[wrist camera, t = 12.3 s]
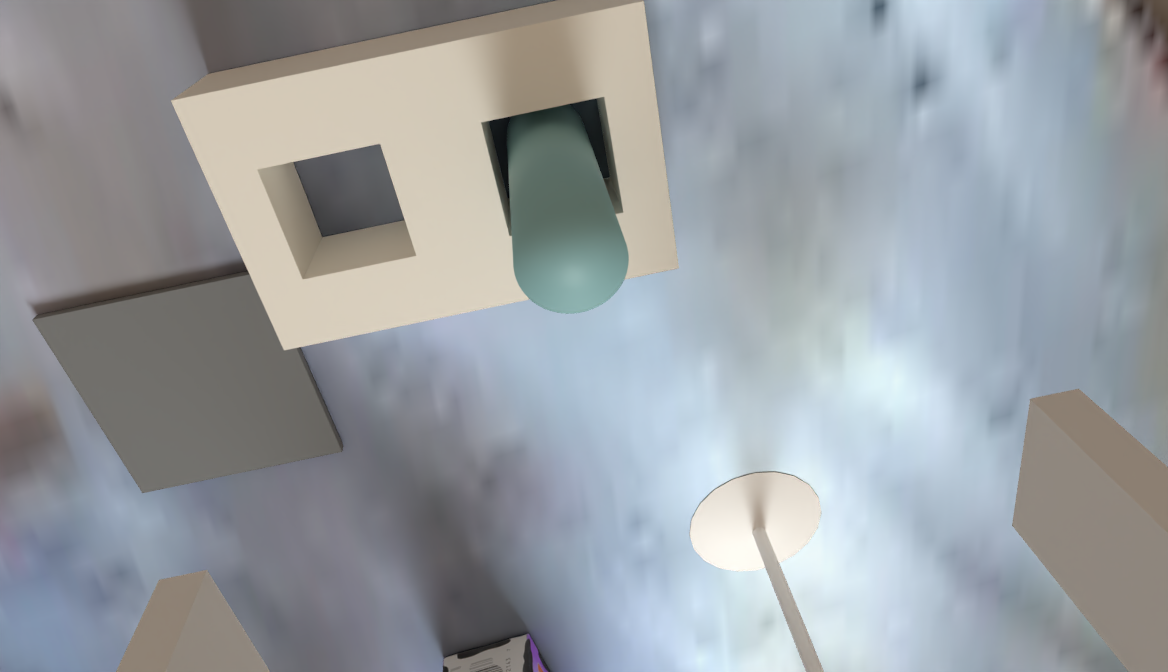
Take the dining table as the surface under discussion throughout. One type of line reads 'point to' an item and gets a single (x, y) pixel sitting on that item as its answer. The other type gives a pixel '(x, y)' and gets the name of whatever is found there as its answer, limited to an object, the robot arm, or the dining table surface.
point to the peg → (561, 214)
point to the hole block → (423, 160)
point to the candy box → (499, 658)
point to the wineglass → (761, 536)
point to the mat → (191, 382)
